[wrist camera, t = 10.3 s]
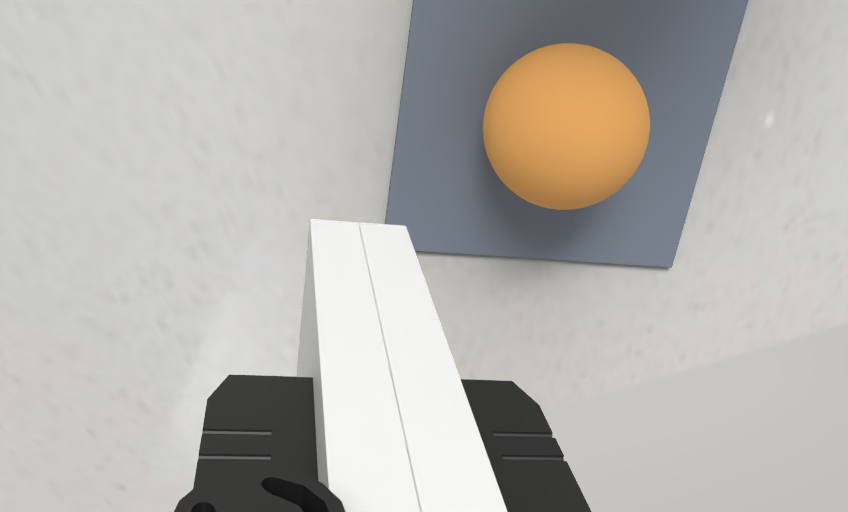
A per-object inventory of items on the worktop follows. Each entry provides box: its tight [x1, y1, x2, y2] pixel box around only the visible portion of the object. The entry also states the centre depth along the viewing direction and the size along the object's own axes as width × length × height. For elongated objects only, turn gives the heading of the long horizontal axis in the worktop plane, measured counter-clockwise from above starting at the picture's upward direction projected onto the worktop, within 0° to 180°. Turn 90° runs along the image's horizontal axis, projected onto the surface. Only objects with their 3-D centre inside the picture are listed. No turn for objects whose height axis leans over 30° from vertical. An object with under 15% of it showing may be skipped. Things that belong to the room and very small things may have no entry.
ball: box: [483, 43, 650, 210], centre depth 27 cm, size 6×6×6 cm
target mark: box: [385, 0, 748, 268], centre depth 29 cm, size 12×12×1 cm
